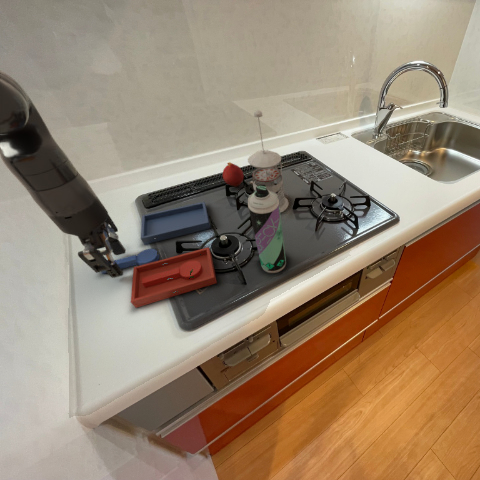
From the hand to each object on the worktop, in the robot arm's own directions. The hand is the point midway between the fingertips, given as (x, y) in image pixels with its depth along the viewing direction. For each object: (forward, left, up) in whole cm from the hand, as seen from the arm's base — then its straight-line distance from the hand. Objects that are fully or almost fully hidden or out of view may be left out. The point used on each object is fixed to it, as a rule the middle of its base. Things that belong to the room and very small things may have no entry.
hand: (119, 263), depth 59 cm
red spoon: (+11, -8, 0) cm, 13 cm away
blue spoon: (+2, 0, -1) cm, 2 cm away
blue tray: (+12, +10, -1) cm, 16 cm away
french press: (+37, +10, -1) cm, 38 cm away
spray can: (+31, -12, -1) cm, 33 cm away
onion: (+29, +22, -1) cm, 36 cm away
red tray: (+11, -8, -1) cm, 14 cm away
